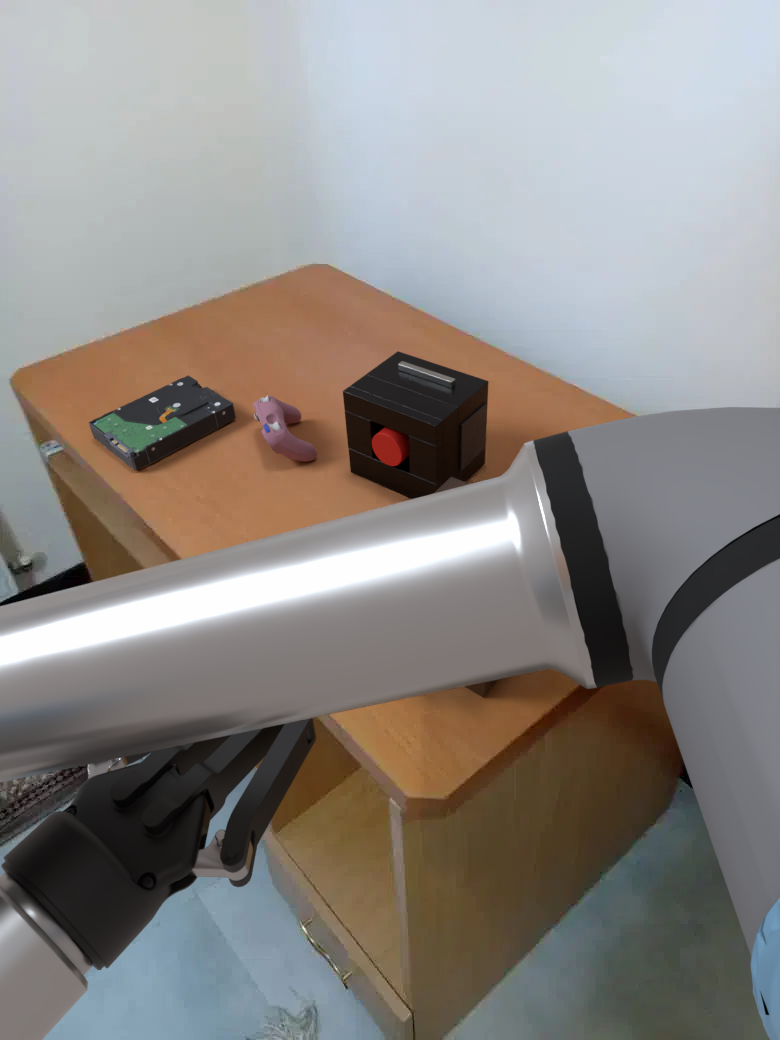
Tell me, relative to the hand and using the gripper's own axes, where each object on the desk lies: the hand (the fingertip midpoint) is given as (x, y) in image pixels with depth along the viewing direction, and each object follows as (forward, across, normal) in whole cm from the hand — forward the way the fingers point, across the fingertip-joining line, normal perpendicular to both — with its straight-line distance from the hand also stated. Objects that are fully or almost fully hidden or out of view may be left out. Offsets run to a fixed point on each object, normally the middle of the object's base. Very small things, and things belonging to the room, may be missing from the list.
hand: (346, 620), depth 52 cm
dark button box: (+33, -18, -17) cm, 41 cm away
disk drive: (+22, -49, -16) cm, 56 cm away
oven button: (+29, -18, -12) cm, 36 cm away
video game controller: (+28, -34, -17) cm, 47 cm away
